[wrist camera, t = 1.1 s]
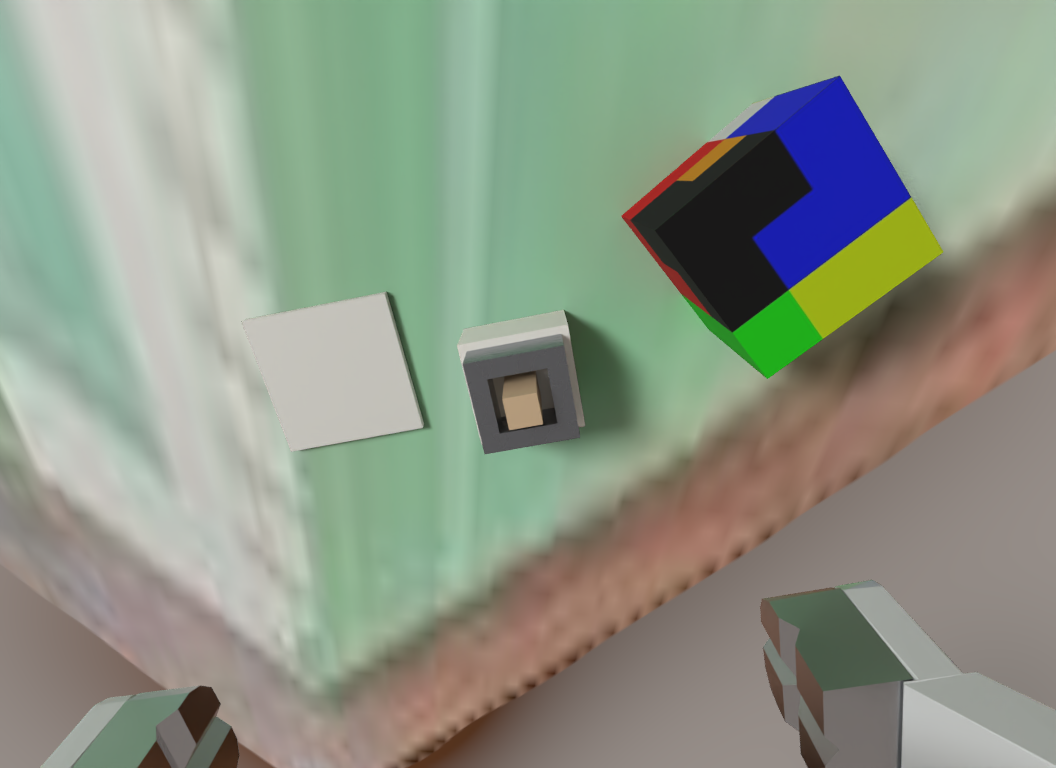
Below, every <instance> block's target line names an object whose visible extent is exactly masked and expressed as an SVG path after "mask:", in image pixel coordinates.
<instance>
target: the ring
mask: <svg viewBox="0 0 1056 768" xmlns="http://www.w3.org/2000/svg"><path fill="white" fill-rule="evenodd" d="M463 368H464V372H465V376H466V380H467V384H468V388H469V392H470V396H471V401H472V405H473V409H474V413H475V417H476V421H477V425H478V429H479V433H480V437H481V441H482V445H483V449H484V453H485V454H489V453H495V452H500V451H506V450H512V449H517V448H523V447H529V446H535V445H540V444H546V443H552V442H557V441H563V440H569V439H574V438H580V433H579V427H578V422H577V416H576V410H575V405H574V399H573V393H572V388H571V382H570V376H569V371H568V365H567V360H566V354H565V348H564V343H563V339H562V335H561V334H557V335H552V336H546V337H541V338H536V339H530V340H525V341H520V342H514V343H509V344H504V345H498V346H493V347H488V348H482V349H477V350H472V351H467V352H466V355H465V358H464V361H463ZM546 368H547V370H548V375H549V381H550V386H551V391H552V396H553V401H554V407H555V408H549V409H544V410H542V416H543V424H542V425H536V426H531V427H525V428H519V429H514V430H509V427H508V423H507V418H506V416H504V417H501V414H500V409H499V405H498V400H497V396H496V392H495V387H494V383H493V379H492V378H498V377H503V376H508V375H514V374H519V373H525V372H530V371H536V370H541V369H546Z"/></svg>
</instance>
